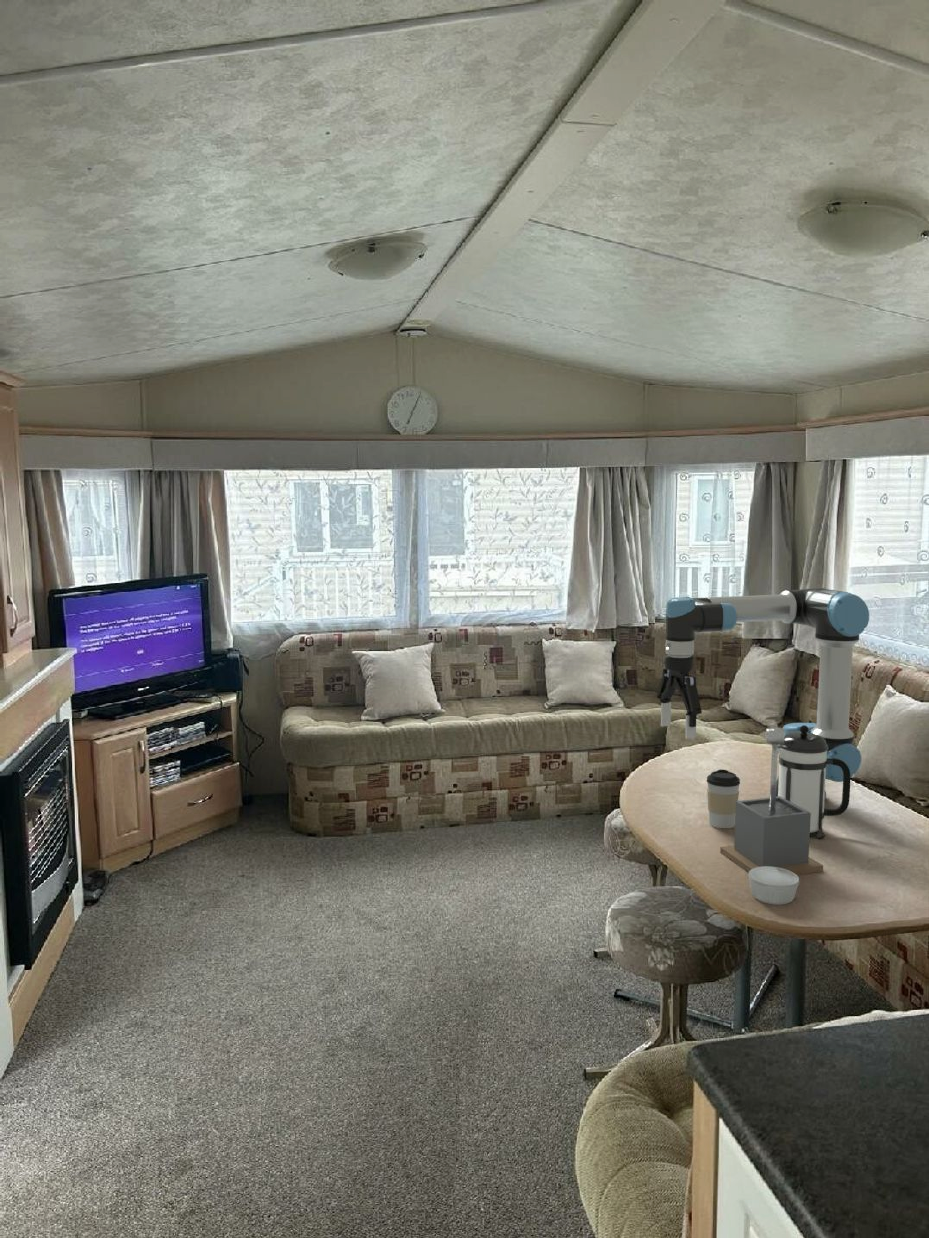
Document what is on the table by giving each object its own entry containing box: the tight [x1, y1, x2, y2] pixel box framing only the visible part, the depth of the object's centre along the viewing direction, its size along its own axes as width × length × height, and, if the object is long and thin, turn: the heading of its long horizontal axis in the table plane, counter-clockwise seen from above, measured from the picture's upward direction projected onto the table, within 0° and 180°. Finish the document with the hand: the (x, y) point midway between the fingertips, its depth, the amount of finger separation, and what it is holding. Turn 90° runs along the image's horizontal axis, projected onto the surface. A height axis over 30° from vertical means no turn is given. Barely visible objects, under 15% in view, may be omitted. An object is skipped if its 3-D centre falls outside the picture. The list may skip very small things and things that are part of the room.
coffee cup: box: [706, 769, 741, 829], centre depth 270 cm, size 9×9×15 cm
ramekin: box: [747, 866, 800, 906], centre depth 224 cm, size 11×11×5 cm
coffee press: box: [778, 725, 851, 840], centre depth 263 cm, size 17×16×30 cm
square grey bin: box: [719, 796, 824, 876], centre depth 243 cm, size 18×18×14 cm
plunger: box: [747, 726, 798, 816], centre depth 241 cm, size 10×10×22 cm
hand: (677, 731), depth 262 cm, fingers open, 13 cm apart
